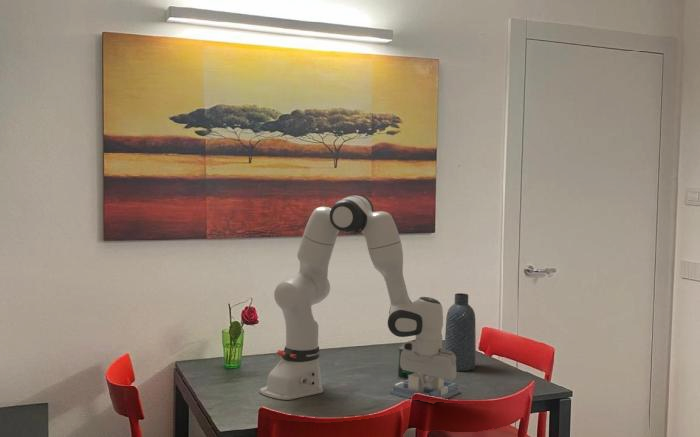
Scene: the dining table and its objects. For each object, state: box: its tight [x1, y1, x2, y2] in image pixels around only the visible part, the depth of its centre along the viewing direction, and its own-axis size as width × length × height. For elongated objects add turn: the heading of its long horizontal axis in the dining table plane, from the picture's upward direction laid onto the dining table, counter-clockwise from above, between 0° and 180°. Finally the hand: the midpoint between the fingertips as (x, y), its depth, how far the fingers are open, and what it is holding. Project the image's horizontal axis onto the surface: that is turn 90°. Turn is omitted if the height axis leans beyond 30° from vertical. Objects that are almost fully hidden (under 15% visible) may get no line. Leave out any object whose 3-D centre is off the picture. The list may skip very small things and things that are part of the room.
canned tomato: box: [397, 344, 417, 381], centre depth 283 cm, size 8×8×11 cm
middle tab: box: [428, 376, 445, 390], centre depth 262 cm, size 4×4×6 cm
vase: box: [443, 292, 477, 372], centre depth 297 cm, size 12×12×28 cm
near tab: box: [408, 373, 424, 393], centre depth 260 cm, size 4×4×6 cm
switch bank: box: [390, 379, 461, 399], centre depth 264 cm, size 17×17×3 cm
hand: (427, 387), depth 257 cm, fingers closed
